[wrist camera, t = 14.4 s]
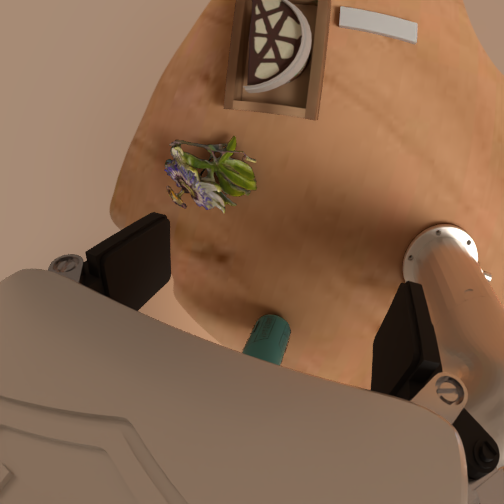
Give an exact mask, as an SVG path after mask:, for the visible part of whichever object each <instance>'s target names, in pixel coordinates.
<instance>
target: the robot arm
mask: <svg viewBox="0 0 504 504" xmlns="http://www.w3.org/2000/svg"><path fill="white" fill-rule="evenodd" d="M437 230H438V231H437ZM436 231H437V232H436ZM410 255H411V256H410ZM86 258H87V261H85V262H83V259H82V257H81V256H79V255H75V254H68V255H63V256H61V257H58V258H56V259H55V260H54V261H52V262H51V264H50V266H49V268H48V271H47V270H42V269H23V270H20V271H18V272H16V273H14V274H12V275H10V276H9V277H7V278H5V279H4V280H2V281H1V282H0V504H504V308H503V306H502V305H501V303H500V301H499V299H498V297H497V296H496V294H495V292H494V290H493V289H492V287H491V285H490V284H489V281H490V280H491V273H488V272H485V271H483V270H482V269H481V267H480V266H479V264H478V252H477V248H476V245H475V243H474V241H473V239H472V238H471V237H470V235H469V234H468V233H467V232H466V231H465V230H463V229H462V228H460V227H458V226H455V225H451V224H440V225H435V226H432V227H430V228H428V229H426V230H424V231H422V232H421V233H420V234H419V235H417V236H416V237H415V239H414V240H413V241H412V242H411V244H410V245H409V247H408V248H407V251H406V253H405V255H404V260H403V275H404V279H405V284H404V283H401V284H400V286H399V288H398V290H397V293H396V295H395V297H394V299H393V302H392V304H391V306H390V308H389V310H388V312H387V314H386V316H385V318H384V320H383V322H382V324H381V326H380V328H379V330H378V332H377V334H376V336H375V339H374V343H373V362H372V380H371V390H367V389H364V388H360V387H356V386H352V385H348V384H344V383H340V382H336V381H332V380H328V379H325V378H321V377H317V376H314V375H310V374H307V373H303V372H300V371H296V370H293V369H290V368H286V367H283V366H280V365H277V364H274V363H271V362H267V361H264V360H261V359H258V358H255V357H252V356H249V355H246V354H244V353H241V352H238V351H235V350H232V349H229V348H227V347H224V346H221V345H218V344H216V343H213V342H210V341H208V340H205V339H203V338H200V337H197V336H195V335H192V334H190V333H187V332H185V331H182V330H180V329H178V328H175V327H173V326H170V325H168V324H166V323H163V322H161V321H159V320H156V319H154V318H152V317H149V316H147V315H145V314H143V313H140V312H138V310H139V309H140V308H141V307H142V306H143V305H144V304H145V303H146V302H147V301H148V300H149V299H150V298H151V297H152V296H153V295H155V293H157V292H158V291H159V290H160V289H161V288H162V287H163V286H164V285H165V284H166V283H167V282H168V281H169V279H170V277H171V260H170V221H169V220H168V219H167V216H166V215H163V214H159V213H155V212H152V213H150V214H148V215H147V216H145V217H143V218H141V219H140V220H138V221H136V222H134V223H133V224H131V225H129V226H127V227H126V228H124V229H122V230H121V231H119V232H117V233H116V234H114V235H112V236H111V237H109V238H107V239H106V240H104V241H102V242H101V243H99V244H97V245H96V246H94V247H93V248H91V249H89V250H88V251H86Z"/></svg>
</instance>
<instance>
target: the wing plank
mask: <svg viewBox="0 0 504 504" xmlns="http://www.w3.org/2000/svg"><path fill="white" fill-rule="evenodd" d="M339 27H341V28H347V29H353V30H359V31H364V32H369V33H373V34H378V35H382V36H386V37H390V38H394V39H398V40H402V41H405V42H409V43H412V44H416V43H417V23H414V22H411V21H407V20H404V19H400V18H397V17H393V16H389V15H385V14H380V13H376V12H371V11H366V10H361V9H355V8H349V7H343V6H341V7H340V21H339Z"/></svg>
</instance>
